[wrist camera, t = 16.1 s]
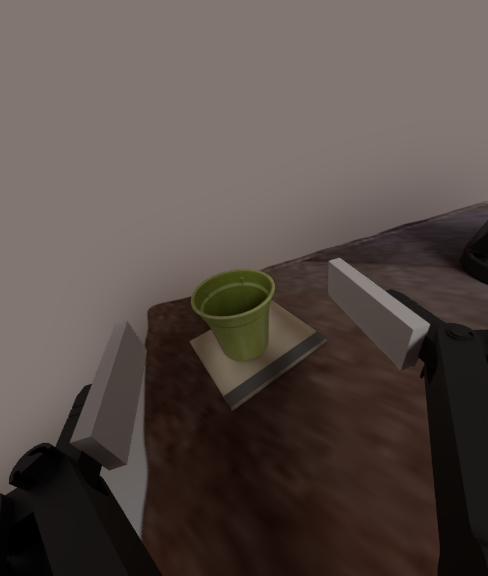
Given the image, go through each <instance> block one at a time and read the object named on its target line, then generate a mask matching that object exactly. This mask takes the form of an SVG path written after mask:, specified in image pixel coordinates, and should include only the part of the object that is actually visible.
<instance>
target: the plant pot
mask: <svg viewBox="0 0 488 576" xmlns="http://www.w3.org/2000/svg"><path fill="white" fill-rule="evenodd" d="M274 291H275V285H274V281H273V280H272V278H271V277H270V276H269V275H267V274H266V273H263V272H261V271H257V270H251V269H237V270H231V271H226V272H223V273H220V274H217V275H214V276H212V277H211V278H209V279H207V280H205V281H204V282H202V283H201V284H200V285H199V286H198V287H197V288H196V289H195V291H194V292H193V295H192V297H191V305H192V308H193V309H194V311H195V312H196V313H197V314H198V315H200V316H201V317H202V318H203V319H204V320H205V321H206V322H207V323H208V325H209V327H210V328H211V330H212V332H213V334H214V335H215V337H216V339H217V341H218V343H219V344H220V346H221V348H222V350H223V352H224V353H225V355H226V356H227V357H229V358H230V359H232V360H235V361H242V362H243V361H246V360H249V359H252V358H257V357H259V356H260V355H261V354H262V353H263V352H264V351H265V350H266V348H267V346H268V340H269V306H270V303H271V298H272V297H273V294H274Z"/></svg>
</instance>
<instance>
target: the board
mask: <svg viewBox="0 0 488 576" xmlns="http://www.w3.org/2000/svg"><path fill="white" fill-rule="evenodd" d="M190 343H191V346H192V347H193V349H194V350H195V352H196V354H197V355H198V357H199V358H200V360H201V362H202V363H203V365H204V367H205V368H206V370H207V371H208V373H209V375H210V376H211V378H212V379H213V381H214V383H215V384H216V386H217V388H218V389H219V391H220V392H221V394H222V396H223V397H224V399H225V400H226V402H227V404H228V405H229V407H230V409H231V410H232V411H234V410H235V409H236V408H238V407H239V406H241V405H242V404H243V403H245V402H246V401H247V400H249V399H250V398H251V397H253V396H254V395H256V394H257V393H258V392H260V391H261V390H262V389H264V388H265V387H266V386H268V385H269V384H271V383H272V382H273V381H275V380H276V379H277V378H279V377H280V376H281V375H283V374H284V373H285V372H287V371H288V370H290V369H291V368H292V367H294V366H295V365H296V364H298V363H299V362H300V361H302V360H303V359H305V358H306V357H307V356H309V355H310V354H311V353H313V352H314V351H315V350H317V349H318V348H320V347H321V346H322V345H324V344H325V343H326V337H325V336H323V335H322V334H321V333H319V332H318V331H315V330H314V329H312V328H311V327H310V326H308V325H307V324H305V323H304V322H302V321H301V320H299V319H298V318H297V317H295V316H294V315H292V314H291V313H289V312H288V311H286V310H285V309H284V308H282V307H281V306H279V305H278V304H276V303H275V302H273V301H272V300H271V303H270V306H269V340H268V346H267V348H266V350H265V351H264V352H263V353H262V354H261V355H260V356H259V357H257V358H252V359H249V360H246V361H243V362H242V361H235V360H232V359H230V358H229V357H227V356H226V355H225V353H224V352H223V350H222V348H221V346H220V344H219V343H218V341H217V339H216V337H215V335H214V334H213V332H212V330H209V331H207V332H205V333H204V334H202V335H200V336H198V337H197V338H195V339H193V340H191V341H190Z"/></svg>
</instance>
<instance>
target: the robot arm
mask: <svg viewBox="0 0 488 576" xmlns="http://www.w3.org/2000/svg"><path fill="white" fill-rule="evenodd" d="M460 261H461V265H462V267H463V268H464V269H465V270H466V271H467V272H468V273H469V274H471V275H472V276H474V277H476V278H477V279H479V280H481V281H483V282H486V283H488V221H487V222H486V223H485V224H484V226H483V227H482V228H481V229H480V230H479V231H478V232H477V234H476V235H475V236H474V237H473V238H472V239H471V240H470V241H469V243H468V244H467V245H466V247H465V249H464V251H463V254H462V257H461V260H460ZM328 295H329V296H330V297H331V298H332V299H333V300H334V301H335V302H336V303H337V304H338V305H339V306H340V307H341V308H342V309H343V311H344V312H345V313H346V314H347V315H348V316H349V317H350V318H351V319H352V320H353V321H354V322H355V323H356V324H357V325H358V326H359V327H360V328H361V329H362V330H363V331H364V333H365V334H366V335H367V336H368V337H369V338H370V339H371V340H372V341H373V342H374V343H375V344H376V345H377V346H378V347H379V348H380V349H381V350H382V351H383V352H384V353H385V354H386V356H387V357H388V358H389V359H390V360H391V361H392V362H393V363H394V364H395V365H396V366H397V367H398V368H399V369H400V370H401V371H402V370H404V369H407V368H410V367H413V366H416V363H417V360H418V357H419V358H420V359H421V360H422V361H423V362H424V363H425V364H424V366H423V369H422V372H421V374H420V378H423V376H424V379H425V390H426V400H427V411H428V422H429V433H430V444H431V455H432V466H433V477H434V487H435V498H436V509H437V520H438V531H439V542H440V557H439V562H438V576H488V330H472V329H470V328H468V327H466V326H464V325H460V324H456V323H445V322H443V321H442V320H440V319H439V318H437V317H436V316H435V315H433V314H432V313H430V312H429V311H427V310H426V309H424V308H423V307H421V306H420V305H418V304H417V303H416V302H414V301H413V300H411V299H410V298H408V297H407V296H405V295H404V294H402V293H400V292H397V291H395V290H392V289H391V290H387V291H384V290H383V289H381V288H380V287H379V286H377V285H376V284H375V283H373V282H372V281H371V280H369V279H368V278H366V277H365V276H364V275H362V274H361V273H360V272H358V271H357V270H356V269H354V268H353V267H351V266H350V265H349V264H347V263H346V262H345V261H343V260H342V259H341V258H337V259H334V260H330V261H329V278H328ZM146 354H147V350H146V348H145V347H144V345H143V344H142V342H141V341H140V340H139V338H138V336H137V335H136V333H135V332H134V330H133V329H132V327H131V326H130V324H129V323H128V321H126V322H122V323H119V324H116V325H114V328H113V331H112V333H111V336H110V338H109V341H108V344H107V347H106V349H105V352H104V354H103V357H102V359H101V362H100V365H99V367H98V370H97V372H96V375H95V378H94V380H93V383H92V384H90V385H86V386H84V388H83V389H82V390H81V392H80V393H79V394H78V396H77V397H76V399H75V402H74V404H73V407H72V410H71V411H70V414H69V416H68V417H69V418H68V419H67V421H66V423H65V425H64V428H63V430H62V432H61V435H60V437H59V440H58V442H57V445H56V447H54V446H53V445H51V444H49V443H42V444H39V445H37V446H35V447H33V448H32V449H30V450H29V451H28V452H26V454H24V455H23V456H22V457H21V458H20V459H19V461H18V462H17V464H16V465H15V466H14V468H13V470H12V472H11V474H10V477H9V484H11V485H13V486H15V487H17V488H16V489H14V490H13V491H11V492H10V493H8V494H7V495H3V494H1V493H0V576H162V574H161V572H160V571H159V569H158V568H157V566H156V564H155V563H154V561H153V559H152V558H151V556H150V554H149V553H148V551H147V549H146V548H145V546H144V545H143V543H142V541H141V540H140V538H139V536H138V535H137V533H136V531H135V530H134V528H133V527H132V525H131V523H130V522H129V520H128V519H127V517H126V515H125V514H124V512H123V510H122V509H121V507H120V505H119V504H118V502H117V500H116V499H115V497H114V495H113V494H112V492H111V490H110V489H109V487H108V485H107V484H106V482H105V481H104V479H103V478H102V477H101V476H100V471H101V467H102V466H103V467H105V468H107V469H108V470H112V469H115V468H118V467H121V466H124V465H127V460H128V455H129V449H130V444H131V438H132V433H133V427H134V421H135V416H136V410H137V404H138V399H139V392H140V387H141V382H142V376H143V371H144V365H145V359H146Z"/></svg>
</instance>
